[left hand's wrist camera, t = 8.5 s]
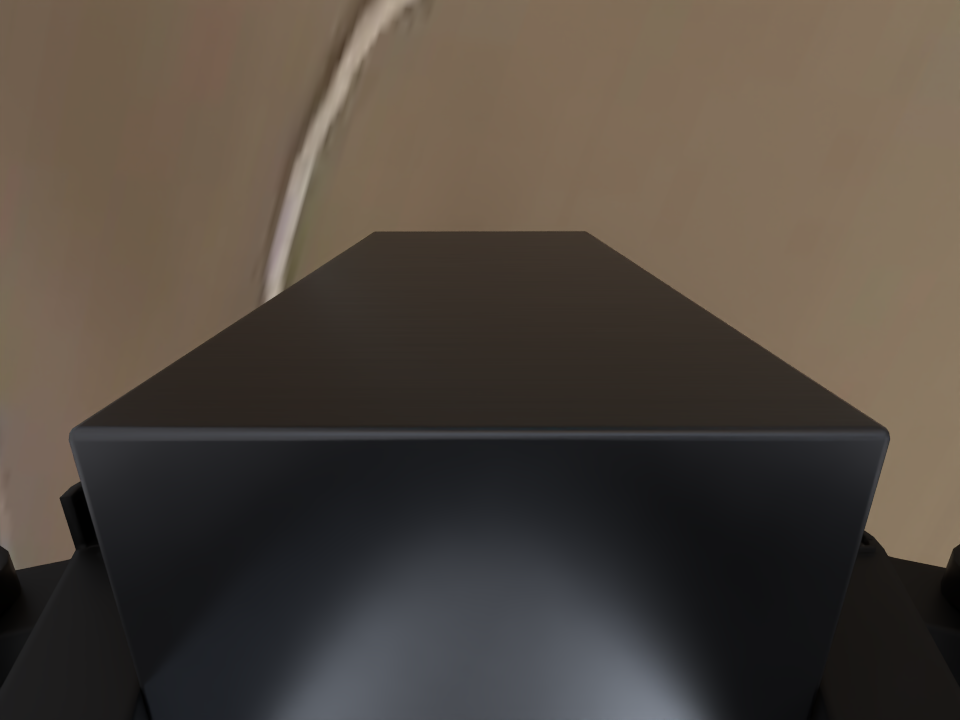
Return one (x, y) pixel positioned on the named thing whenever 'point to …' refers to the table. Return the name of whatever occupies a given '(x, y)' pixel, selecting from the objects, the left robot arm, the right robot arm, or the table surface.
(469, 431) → the box
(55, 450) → the table surface
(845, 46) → the table surface
